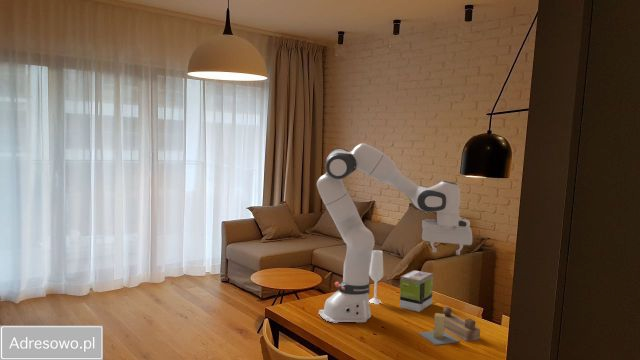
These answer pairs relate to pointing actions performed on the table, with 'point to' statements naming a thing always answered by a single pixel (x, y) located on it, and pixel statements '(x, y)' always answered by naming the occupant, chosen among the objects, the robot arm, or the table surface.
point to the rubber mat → (436, 341)
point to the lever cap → (439, 325)
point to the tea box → (416, 290)
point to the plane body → (461, 326)
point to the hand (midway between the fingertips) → (446, 253)
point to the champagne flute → (376, 272)
